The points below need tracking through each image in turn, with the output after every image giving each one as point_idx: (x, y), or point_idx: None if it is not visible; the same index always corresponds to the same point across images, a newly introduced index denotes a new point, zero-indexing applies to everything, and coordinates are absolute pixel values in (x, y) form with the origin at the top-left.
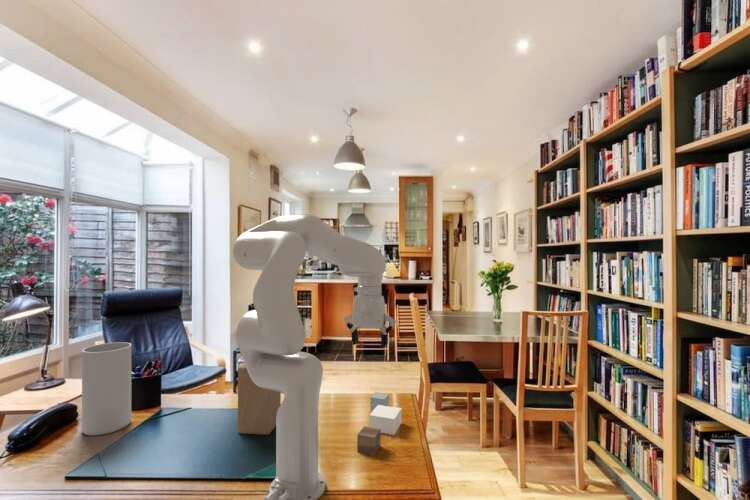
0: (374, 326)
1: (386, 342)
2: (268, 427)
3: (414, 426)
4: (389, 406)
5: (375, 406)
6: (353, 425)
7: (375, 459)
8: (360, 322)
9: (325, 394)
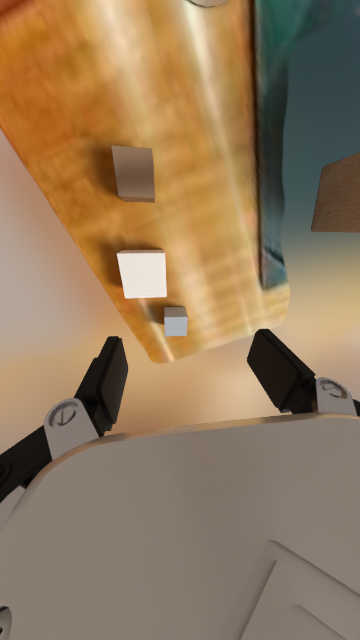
0: (124, 461)
1: (93, 365)
2: (335, 162)
3: (107, 287)
4: (146, 297)
5: (177, 310)
6: (193, 257)
7: None
8: (353, 491)
9: None
